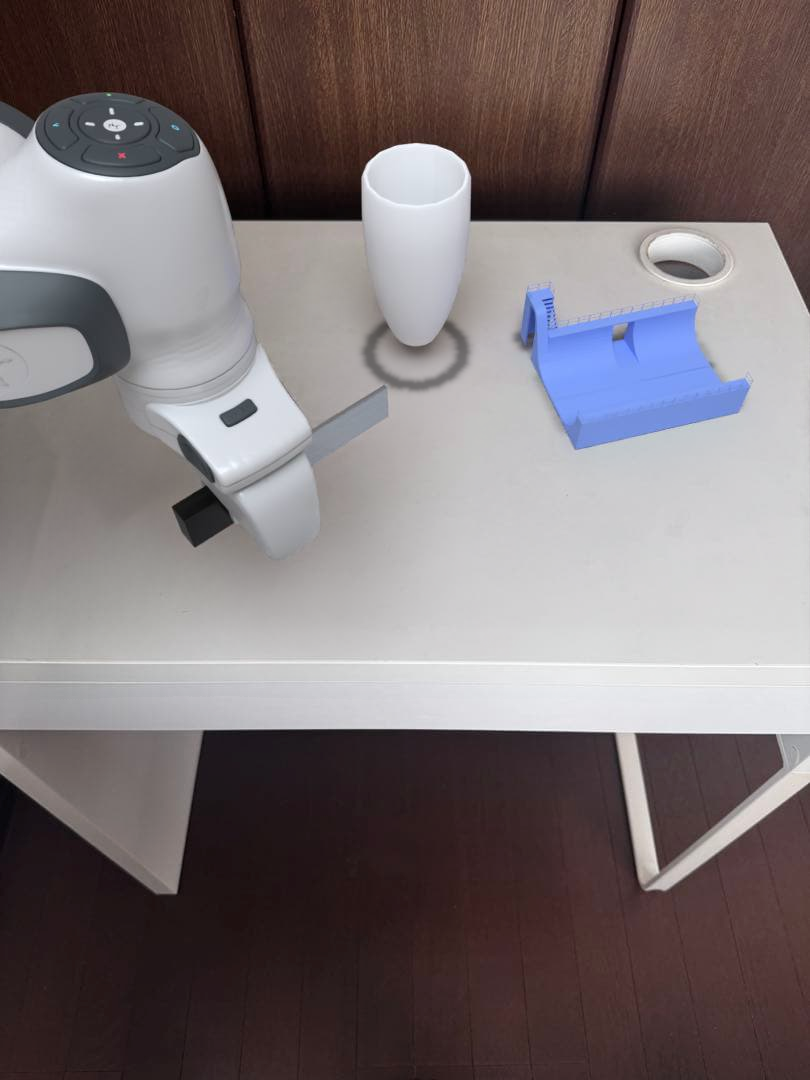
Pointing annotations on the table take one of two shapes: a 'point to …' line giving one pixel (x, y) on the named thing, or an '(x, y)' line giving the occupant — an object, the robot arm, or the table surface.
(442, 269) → the cup
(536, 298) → the half pipe
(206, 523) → the knife
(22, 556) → the table surface
